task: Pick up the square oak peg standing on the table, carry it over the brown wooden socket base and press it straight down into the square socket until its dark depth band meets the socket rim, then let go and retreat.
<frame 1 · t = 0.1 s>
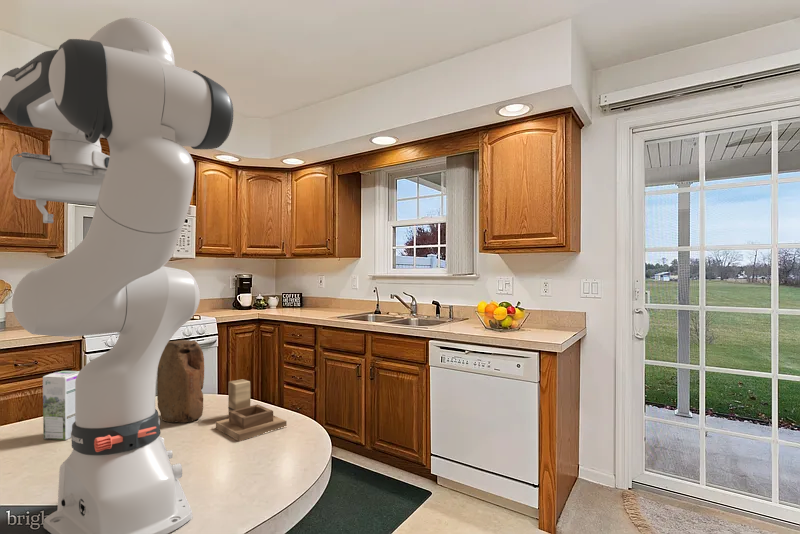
hand: (76, 224, 93), 48 cm above the countertop, tool pointing down, fingers open, 8 cm apart
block: (182, 419, 113), on the countertop
brown wooden socket base: (251, 427, 106), on the countertop
peg: (239, 416, 115), on the countertop
syrup box: (64, 436, 102), on the countertop
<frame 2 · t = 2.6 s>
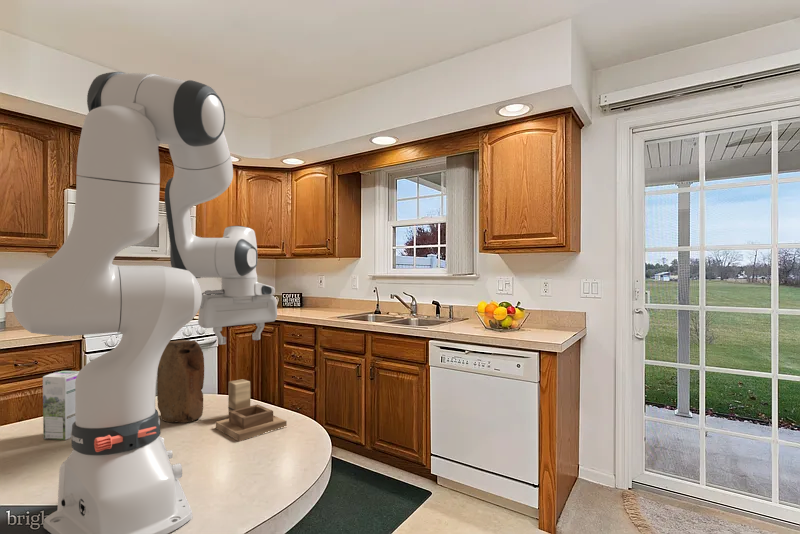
hand: (239, 341, 115), 19 cm above the countertop, tool pointing down, fingers open, 8 cm apart
nothing on the countertop moved.
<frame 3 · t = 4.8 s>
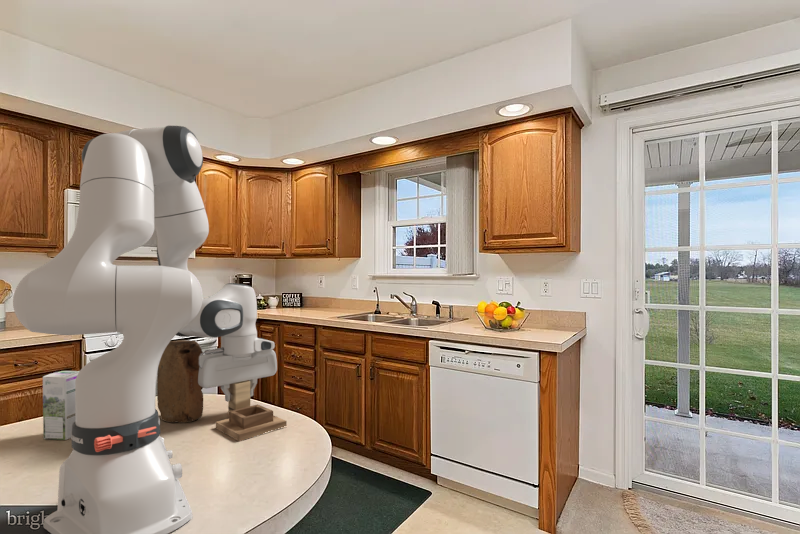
hand: (239, 398, 115), 5 cm above the countertop, tool pointing down, fingers closed on peg, 4 cm apart
peg: (239, 416, 115), on the countertop, touching gripper
everything else where it was.
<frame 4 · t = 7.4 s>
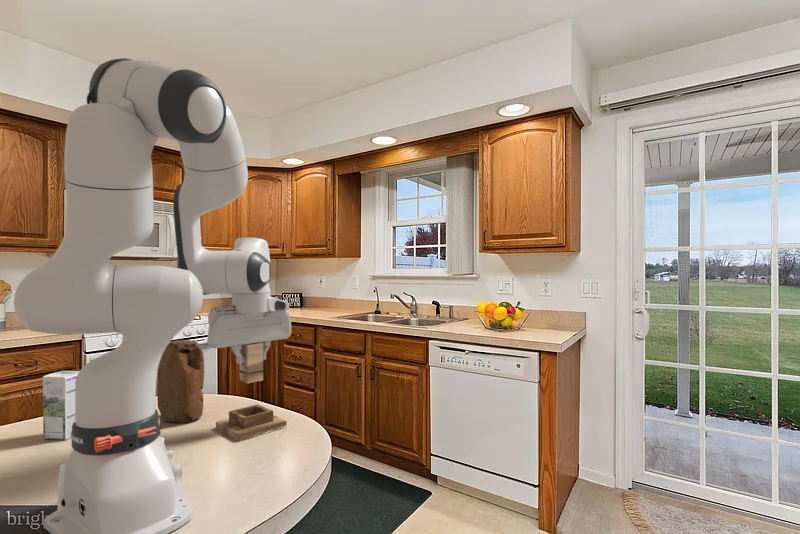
hand: (251, 361, 106), 16 cm above the countertop, tool pointing down, fingers closed on peg, 4 cm apart
peg: (251, 380, 107), point 11 cm above the countertop, touching gripper
everything else where it was.
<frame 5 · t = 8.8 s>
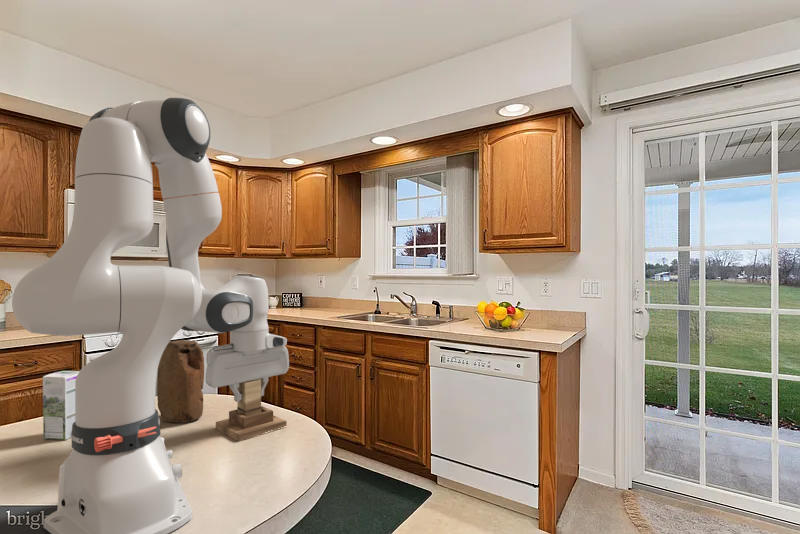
hand: (249, 398, 107), 7 cm above the countertop, tool pointing down, fingers closed on peg, 4 cm apart
peg: (249, 417, 107), point 2 cm above the countertop, touching gripper
everything else where it was.
when the fingers open (6 cm above the countertop, at t = 9.9 s): peg stays where it is, resting on brown wooden socket base.
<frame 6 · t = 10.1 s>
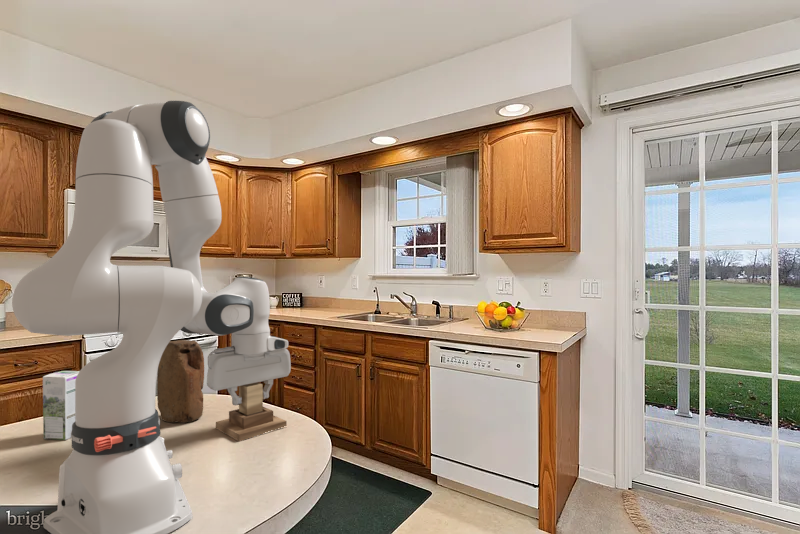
hand: (251, 401, 106), 6 cm above the countertop, tool pointing down, fingers open, 6 cm apart
peg: (250, 421, 106), point 1 cm above the countertop, touching brown wooden socket base
everything else where it was.
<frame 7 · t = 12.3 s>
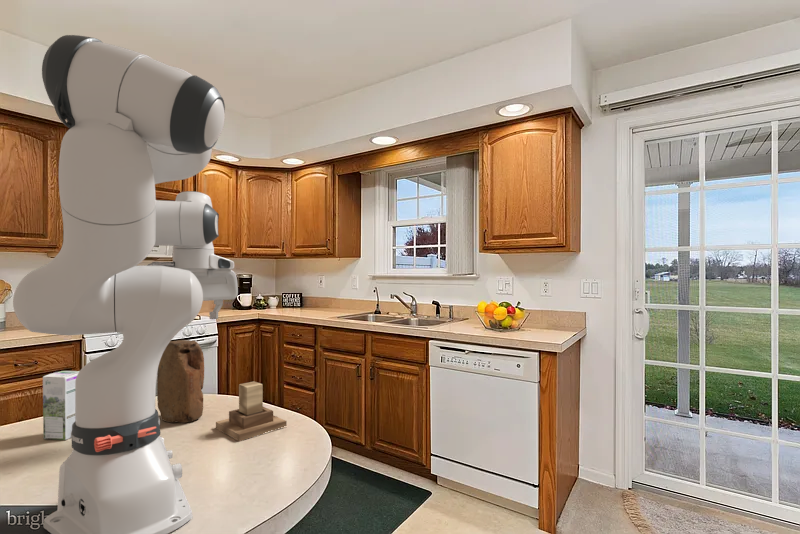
hand: (193, 320, 104), 26 cm above the countertop, tool pointing down, fingers open, 8 cm apart
nothing on the countertop moved.
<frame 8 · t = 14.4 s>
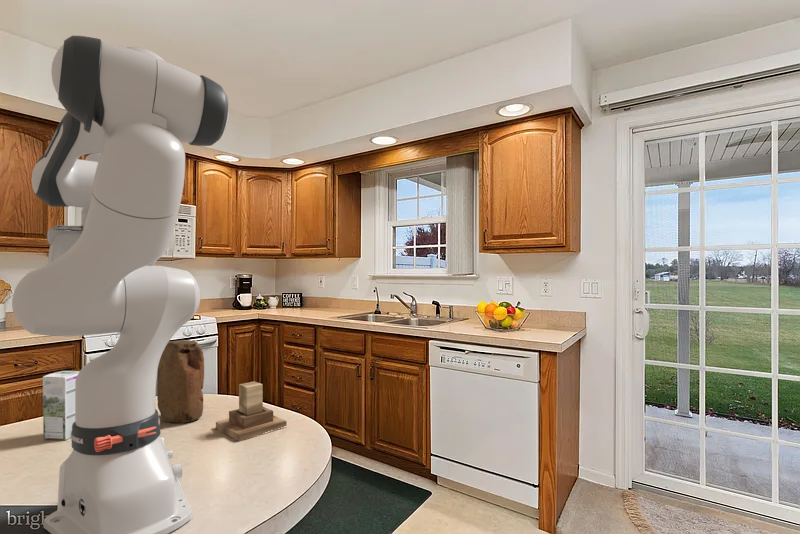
hand: (105, 288, 100), 34 cm above the countertop, tool pointing down, fingers open, 8 cm apart
nothing on the countertop moved.
at the end: peg 0.1 cm off-centre on the brown wooden socket base, point 1.5 cm above the brown wooden socket base's base; peg tilted 0°; the gripper is holding nothing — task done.
